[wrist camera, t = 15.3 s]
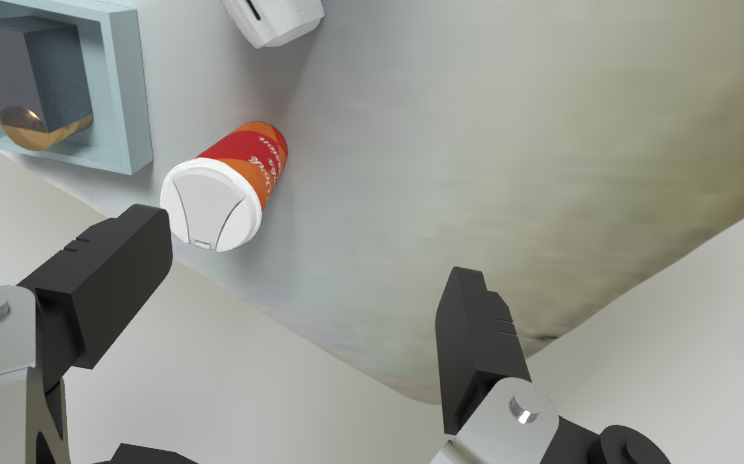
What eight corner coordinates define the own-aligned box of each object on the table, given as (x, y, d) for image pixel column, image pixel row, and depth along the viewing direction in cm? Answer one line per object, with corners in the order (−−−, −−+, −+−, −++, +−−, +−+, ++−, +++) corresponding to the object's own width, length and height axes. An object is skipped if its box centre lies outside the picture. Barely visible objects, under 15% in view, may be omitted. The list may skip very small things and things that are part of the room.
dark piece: (56, 125, 41) (7, 146, 36) (30, 15, 36) (-31, 21, 31) (96, 133, 41) (53, 155, 36) (77, 25, 36) (23, 32, 31)
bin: (-26, -26, 35) (-72, -26, 32) (136, 9, 36) (108, 12, 32) (20, 133, 43) (-13, 146, 40) (153, 160, 44) (132, 175, 40)
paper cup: (290, 190, 44) (249, 268, 32) (220, 169, 44) (152, 241, 32) (305, 123, 40) (263, 183, 28) (228, 98, 39) (152, 150, 28)
